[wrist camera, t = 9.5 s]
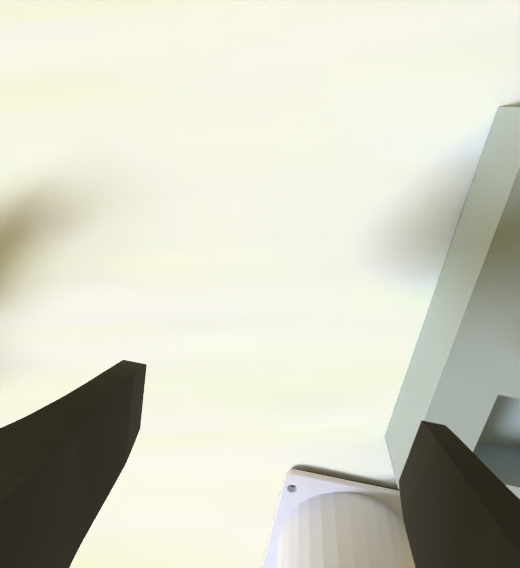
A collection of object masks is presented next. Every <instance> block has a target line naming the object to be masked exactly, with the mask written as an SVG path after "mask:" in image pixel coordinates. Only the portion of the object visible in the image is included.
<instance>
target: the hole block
mask: <svg viewBox="0 0 520 568" xmlns="http://www.w3.org/2000/svg"><path fill="white" fill-rule="evenodd" d="M421 420H423V421H427V422H432V423H437V424H442V425H446V426H447V427H448V428H449V429H450V430H451V431H452V432H453V433H454V434H455V435H456V436H457V437H458V438H459V439H460V440H461V441H462V442H463V443H464V444H465V445H466V446H467V447H468V448H469V449H470V450H471V451H472V452H473V453H474V454H475V455H476V456H477V457H478V458H479V459H480V460H481V461H482V462H483V463H484V464H485V465H486V466H487V467H488V468H489V469H490V470H491V471H492V472H493V473H494V474H495V475H496V476H497V477H498V478H499V480H500V481H501V482H502V483H503V484H504V485H506V486H507V487H508V488H509V489H510V490H511V491H512V492H513V493H514V494H515V495H516V496H517V497H518V498H519V499H520V106H519V107H498V109H497V112H496V115H495V118H494V121H493V124H492V127H491V130H490V133H489V135H488V138H487V141H486V144H485V147H484V150H483V153H482V156H481V159H480V162H479V164H478V167H477V170H476V173H475V176H474V179H473V182H472V185H471V188H470V191H469V193H468V196H467V199H466V202H465V205H464V208H463V211H462V214H461V217H460V220H459V223H458V225H457V228H456V231H455V234H454V237H453V240H452V243H451V246H450V249H449V252H448V254H447V257H446V260H445V263H444V266H443V269H442V272H441V275H440V278H439V281H438V283H437V286H436V289H435V292H434V295H433V298H432V301H431V304H430V307H429V310H428V313H427V315H426V318H425V321H424V324H423V327H422V330H421V333H420V336H419V339H418V342H417V344H416V347H415V350H414V353H413V356H412V359H411V362H410V365H409V368H408V371H407V373H406V376H405V379H404V382H403V385H402V388H401V391H400V394H399V397H398V400H397V403H396V405H395V408H394V411H393V414H392V417H391V420H390V423H389V426H388V429H387V432H386V434H385V440H386V444H387V447H388V451H389V455H390V459H391V463H392V467H393V471H394V475H395V479H396V483H397V487H398V489H399V479H400V476H401V474H402V471H403V468H404V466H405V463H406V460H407V458H408V455H409V452H410V450H411V447H412V444H413V442H414V439H415V436H416V434H417V431H418V428H419V426H420V423H421Z"/></svg>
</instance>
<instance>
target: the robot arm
mask: <svg viewBox="0 0 520 568" xmlns="http://www.w3.org/2000/svg"><path fill="white" fill-rule="evenodd" d="M145 374H146V364H141V363H136V362H131V361H126V360H123V361H121V362H119V363H118V364H116V365H114V366H113V367H111V368H110V369H108V370H106V371H105V372H103V373H102V374H100V375H98V376H97V377H95V378H94V379H92V380H90V381H89V382H87V383H86V384H84V385H82V386H81V387H79V388H77V389H76V390H74V391H72V392H71V393H69V394H67V395H66V396H64V397H62V398H60V399H58V400H56V401H55V402H53V403H51V404H49V405H47V406H45V407H43V408H42V409H40V410H38V411H36V412H34V413H32V414H30V415H28V416H26V417H24V418H22V419H20V420H18V421H16V422H14V423H11V424H9V425H7V426H5V427H2V428H0V568H69V567H70V565H71V562H72V560H73V558H74V556H75V554H76V552H77V550H78V549H79V547H80V545H81V543H82V541H83V539H84V537H85V536H86V534H87V532H88V530H89V528H90V527H91V525H92V523H93V521H94V519H95V518H96V516H97V514H98V512H99V511H100V509H101V507H102V505H103V503H104V502H105V500H106V498H107V496H108V495H109V493H110V491H111V489H112V487H113V486H114V484H115V482H116V480H117V478H118V477H119V475H120V473H121V471H122V469H123V467H124V466H125V464H126V462H127V459H128V457H129V454H130V452H131V450H132V447H133V445H134V442H135V440H136V437H137V435H138V432H139V430H140V423H141V413H142V403H143V393H144V384H145ZM289 485H294V486H295V487H290V486H289ZM399 490H400V491H398V490H393V489H388V488H384V487H379V486H374V485H369V484H364V483H359V482H354V481H349V480H345V479H340V478H335V477H330V476H325V475H320V474H315V473H310V472H306V471H301V470H295V469H292V470H289V471H287V472H286V474H285V477H284V481H283V484H282V488H281V492H280V496H279V500H278V504H277V508H276V512H275V516H274V520H273V524H272V528H271V531H270V535H269V539H268V543H267V547H266V551H265V555H264V559H263V563H262V567H261V568H520V499H519V498H518V497H517V496H516V495H515V494H514V493H513V492H512V491H511V490H510V489H509V488H508V487H507V486H506V485H504V484H503V483H502V482H501V481H500V480H499V478H498V477H497V476H496V475H495V474H494V473H493V472H492V471H491V470H490V469H489V468H488V467H487V466H486V465H485V464H484V463H483V462H482V461H481V460H480V459H479V458H478V457H477V456H476V455H475V454H474V453H473V452H472V451H471V450H470V449H469V448H468V447H467V446H466V445H465V444H464V443H463V442H462V441H461V440H460V439H459V438H458V437H457V436H456V435H455V434H454V433H453V432H452V431H451V430H450V429H449V428H448V427H447V426H446V425H442V424H437V423H432V422H427V421H423V420H421V423H420V426H419V428H418V431H417V434H416V436H415V439H414V442H413V444H412V447H411V450H410V452H409V455H408V458H407V460H406V463H405V466H404V468H403V471H402V474H401V476H400V479H399Z"/></svg>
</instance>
